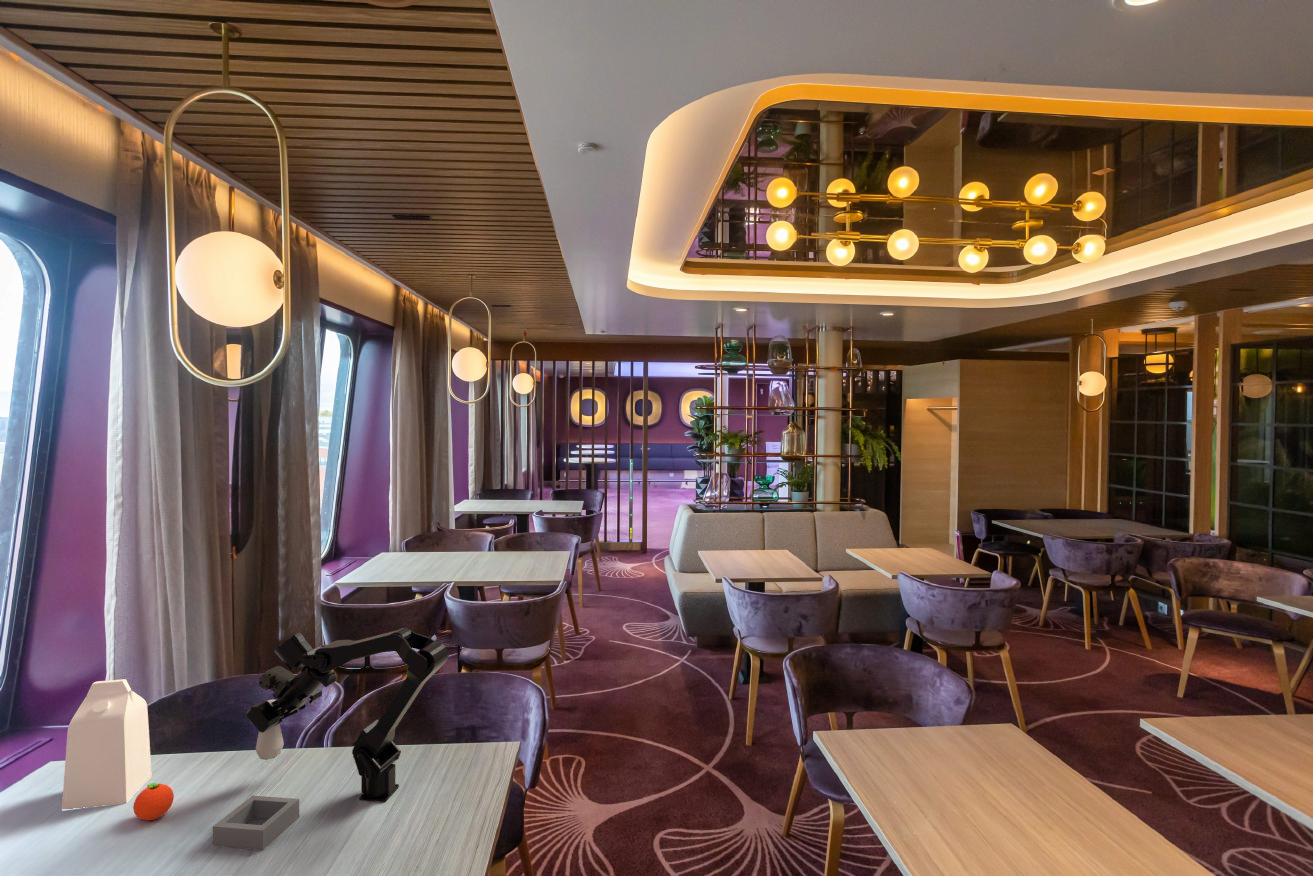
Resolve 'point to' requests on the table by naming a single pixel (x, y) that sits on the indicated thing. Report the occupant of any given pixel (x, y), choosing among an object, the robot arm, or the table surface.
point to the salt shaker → (270, 742)
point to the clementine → (153, 801)
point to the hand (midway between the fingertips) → (264, 725)
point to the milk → (107, 747)
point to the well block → (257, 837)
